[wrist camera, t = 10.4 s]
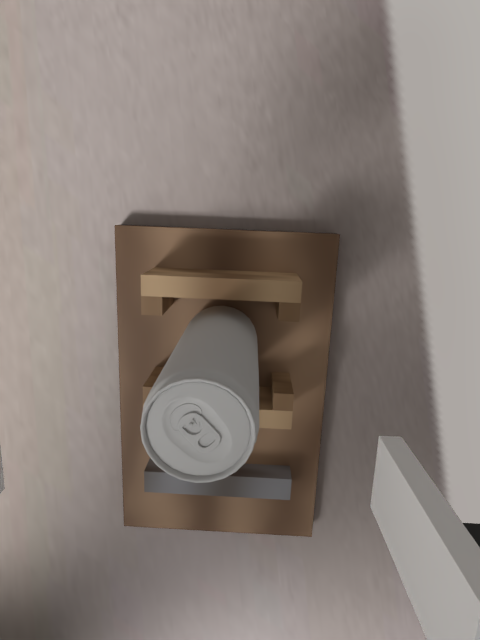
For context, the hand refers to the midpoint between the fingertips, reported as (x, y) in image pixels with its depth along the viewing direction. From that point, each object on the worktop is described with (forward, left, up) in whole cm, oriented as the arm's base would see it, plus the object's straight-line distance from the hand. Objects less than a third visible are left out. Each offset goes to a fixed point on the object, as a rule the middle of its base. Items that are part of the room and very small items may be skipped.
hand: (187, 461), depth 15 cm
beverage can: (0, 0, -14) cm, 14 cm away
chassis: (0, -4, -15) cm, 16 cm away
